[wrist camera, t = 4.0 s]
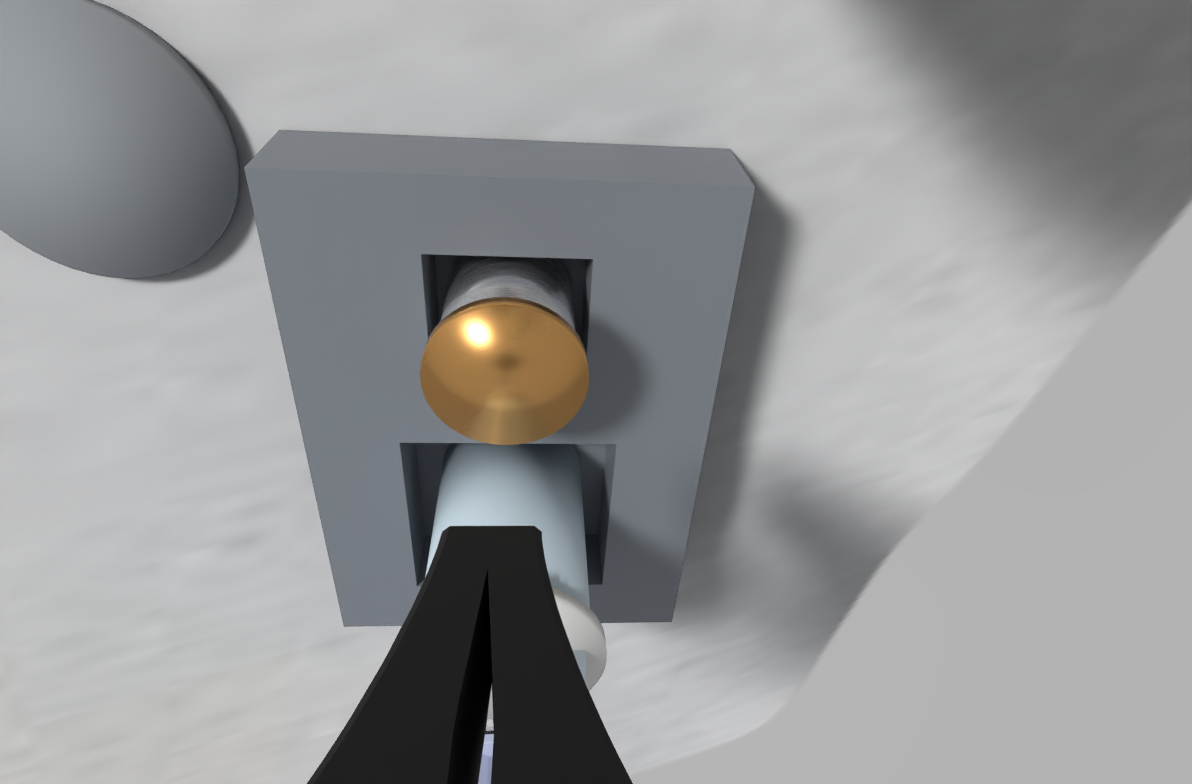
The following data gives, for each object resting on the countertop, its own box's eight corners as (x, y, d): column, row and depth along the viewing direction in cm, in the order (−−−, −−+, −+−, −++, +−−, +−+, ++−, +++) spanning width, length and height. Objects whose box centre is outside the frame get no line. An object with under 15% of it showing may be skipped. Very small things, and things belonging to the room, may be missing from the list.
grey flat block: (661, 562, 25) (671, 621, 23) (359, 564, 24) (343, 626, 22) (730, 148, 17) (755, 187, 15) (279, 129, 16) (243, 167, 14)
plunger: (577, 355, 19) (584, 445, 16) (443, 353, 19) (426, 444, 16) (584, 231, 17) (593, 309, 14) (435, 227, 17) (413, 305, 14)
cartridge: (585, 525, 23) (600, 732, 18) (437, 526, 23) (405, 738, 17) (595, 408, 21) (615, 610, 15) (426, 407, 20) (385, 612, 15)
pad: (263, 274, 18) (258, 281, 18) (1, 267, 18) (-9, 275, 17) (203, -2, 15) (195, 1, 14) (-127, -21, 14) (-144, -18, 14)
